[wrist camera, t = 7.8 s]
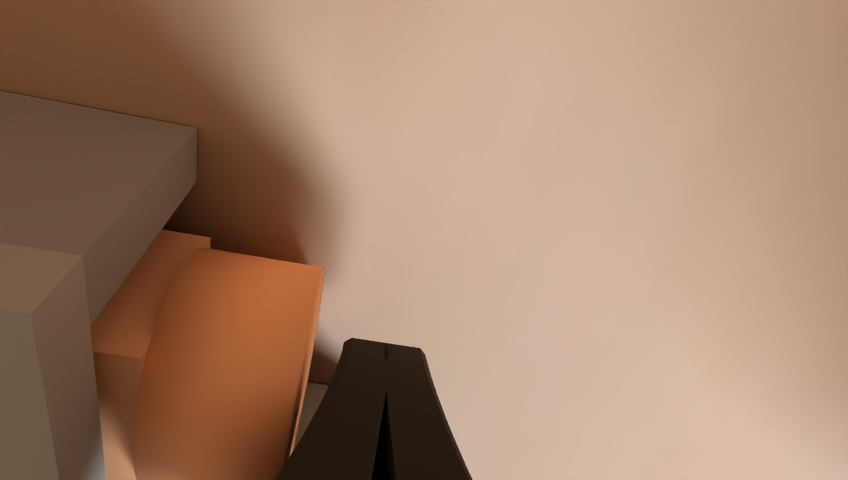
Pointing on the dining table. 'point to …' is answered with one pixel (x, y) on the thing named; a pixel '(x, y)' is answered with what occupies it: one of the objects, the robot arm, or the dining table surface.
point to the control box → (75, 266)
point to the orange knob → (204, 362)
